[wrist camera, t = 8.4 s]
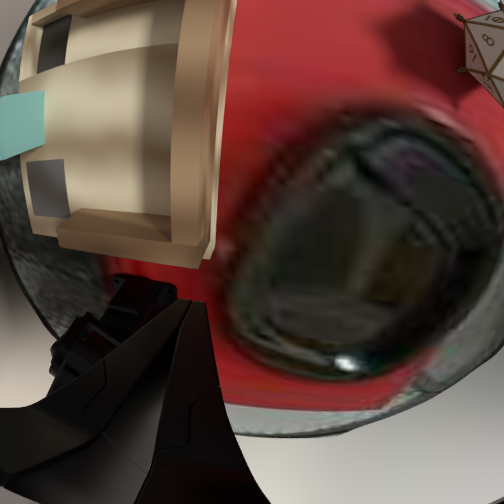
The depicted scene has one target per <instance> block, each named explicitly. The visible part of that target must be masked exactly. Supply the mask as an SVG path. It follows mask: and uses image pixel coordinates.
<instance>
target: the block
mask: <svg viewBox="0 0 504 504" xmlns="http://www.w3.org/2000/svg"><path fill="white" fill-rule="evenodd" d="M44 97H45V90H42V91H34V92H26V93H20V94H14V95H8V96H3V97H1V98H0V160H5V159H7V158H10V157H12V156H15V155H17V154H20V153H22V152H25V151H27V150H30V149H33V148H35V147H38V146H41V145H44V144H45V136H44Z"/></svg>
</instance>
